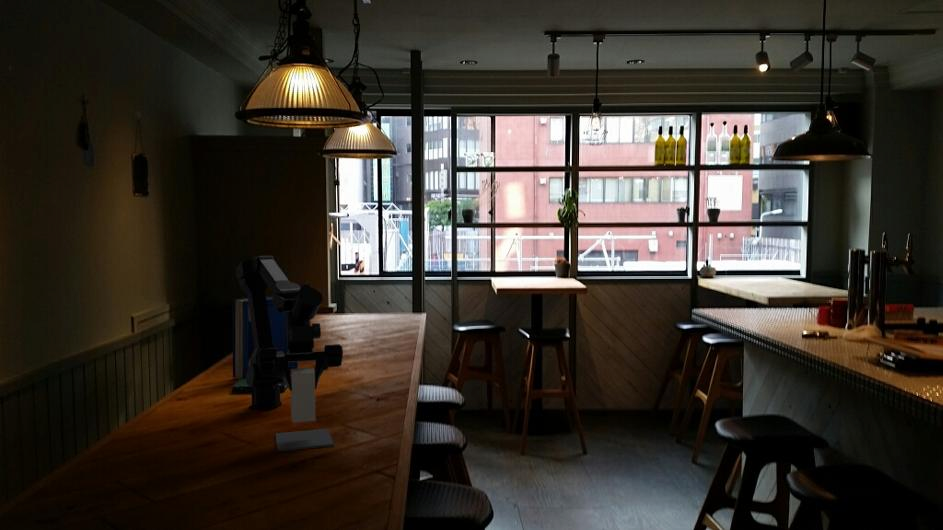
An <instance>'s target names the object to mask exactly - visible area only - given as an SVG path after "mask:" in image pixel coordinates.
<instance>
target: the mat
mask: <svg viewBox="0 0 943 530" xmlns="http://www.w3.org/2000/svg"><path fill="white" fill-rule="evenodd" d="M275 442H276V443H275V444H276V450H277V452H285V451H288V452H289V451H296V450H298V451H299V450H306V449H307V450H308V449H317V448H319V449H320V448H327V447H328V448H330V447H334V445H335V444H334V441H333V438H332V436H331V433H330V430H329V428H321V429H309V430H299V431H287V432H286V431H285V432H276V433H275Z"/></svg>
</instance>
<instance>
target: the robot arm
mask: <svg viewBox="0 0 943 530" xmlns="http://www.w3.org/2000/svg"><path fill="white" fill-rule="evenodd" d="M235 275H236V279H238V284H239V287H240V289H241V290H242V291H243V292H244V293H245V294H246V296H247V298H248V302H249V309H250V316H251V324H252V331H253V338H254V345H255V349H254V352H253V354H252V356H251V358H250V364H251V365H250V367H249V369H248V372H247V374H246V384H247V385H249V386H251V390H252V393H251V404H250V405H248V409H254V410H256V409H257V410H267V411H269V410H273V409H275V408H276V407H279V406H281V405H282V404H283V402H282V401H281V393H280V389H278V383H283V380H284V381H285V383H286V385H287V387H288V388H287V389H288V390H289V391H290V392H291V391H292V383H291V374H290V371H289V367H288V362H299V363H300V362H315V364H314V365H315V367H314V372H315V390H317V388H318V384H319V381H320V378H321V376H322V374H323V372H324V371H327V370H328V369H329V368H338V367H340V366H342V363H343V356H344V355H343V354H344V349H343V346H342V345H341V344H338V343H337V344H325V345H324V349H323V351H314V348H315V340H317V339H320V338H321V336H322V333H321V332H322V331H321V329H322V328H321V322H319V323H312V324H311V320H313V319H315V316H317V315H316V314H317V312H318V311H319V309H320V307H321V304H322V302H323V300H324V296H323V295H322V293H321V292H320V291H319V290H317V289H316V288H314V287H311V284H310V283H305V284H304V283H303V284H301V285H299V284H298V283H296V282H292V281H290V280H289V279H288V277H287V276H286V275H285V273H284V272H283V271H282V269H281V268H280V267H279V265H278V263H277V262H276V258H275V257H274V255H271V254H270V255H256V256H254V257H253V258H251V259H248V260H245V261H241V262H240V263H239V264H238V265H237V266H236V268H235ZM267 289H269V290H270V292H271V293H272V296H273V298H272V302H273V306H274V308H275V309H276V310H277V311H278V312H279V313H281V312H288V313H287V315H286V325H285V326H286V332H287V348H288V353H285V352H284V351H281V350H280V349H277V348H276V347H275V346H274V345H273V340H272V333H271V326H270V319H269V312H268V306H267V299H266V296H267V292H266V291H267ZM314 339H315V340H314Z"/></svg>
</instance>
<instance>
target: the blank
mask: <svg viewBox="0 0 943 530" xmlns="http://www.w3.org/2000/svg"><path fill="white" fill-rule="evenodd" d="M289 372H290V377H291V383H292V391H290V415H291V420H292V421H291V422H292V423H293V424H295V423H306V422H316V389H315V368H313V367H304V368H303V367H301V368H297V369H290V371H289Z"/></svg>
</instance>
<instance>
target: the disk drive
mask: <svg viewBox="0 0 943 530" xmlns="http://www.w3.org/2000/svg"><path fill="white" fill-rule="evenodd" d="M278 389H280V394H283V393H286V391H287V389H289V388H288V387H287V385H286V383H285V381H284V380H283V383H278ZM231 394H232V395H236V394H239V395H242V394H243V395H244V394H248V395H249V394H252V390H251V386H249V385H247V384H246V379H243V378H241V379H237V381H236V382H235V383H234V385H232V386H231Z"/></svg>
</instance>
